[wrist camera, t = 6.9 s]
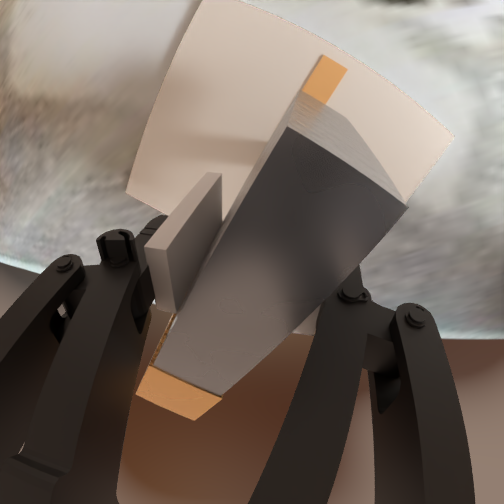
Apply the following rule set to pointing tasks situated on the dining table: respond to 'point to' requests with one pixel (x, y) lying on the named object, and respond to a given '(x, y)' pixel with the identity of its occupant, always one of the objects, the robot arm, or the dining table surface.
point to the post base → (266, 106)
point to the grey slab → (274, 256)
